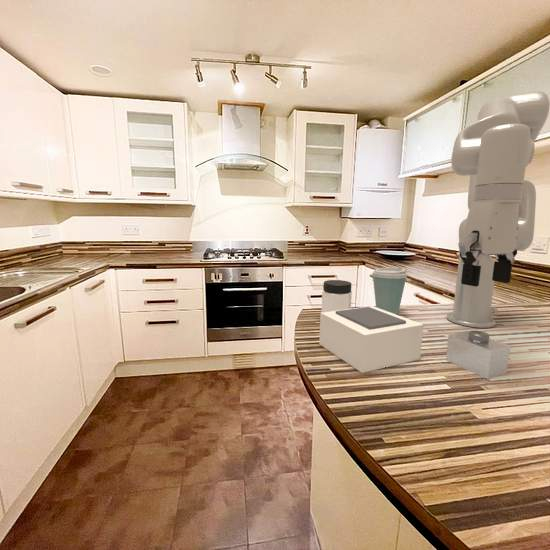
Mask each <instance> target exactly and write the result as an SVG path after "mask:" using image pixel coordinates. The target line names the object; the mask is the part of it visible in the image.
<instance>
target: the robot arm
mask: <svg viewBox="0 0 550 550" xmlns="http://www.w3.org/2000/svg"><path fill="white" fill-rule="evenodd" d="M549 113H550V98H549V96H548V94H547V93H546V92H543V91H540V90H536V91H534V90H533V91H528V92H522V93H515V94H508V95H503V96H497V97H495V98H492V99H490V100H488V101H487V102H485V104H483V105H482V106H481V108H480V110H479V112H478V115H477V121H476V122H474V123H471V124H469V125H467V126H466V127H464V128H463V129H462V130H461V131H460V132H459V133H458V134H457V136H456V137H455V139H454V142H453V143H454V144H453V146H452V147H453V148H452V152H451V153H452V154H451V161H450V163H451V169H452V171H453V172H454V173H455V174H456V175H458V176H469V185H468V193H467V195H468V196H467V207H468V213H467V217H466V218H465V219H463V220H462V221H461V222H460V224H459V227H458V245H457V246H458V253H459V254H458V263H457V264H458V265H457V273H456V274H457V275H456V281H455V290H454V291H455V292H454V301H453V309H452V311H451V312H448V313H447V314H446V320H448V321H449V322H452V323H455V324H457V325H461V326H464V327H471V328H482V329H486V328H487V329H488V328H493V327H495V326H496V320H495V319H494V318H493V317H491V315H492V314H497V313H498V308H497V307H496V306H492V301H493V296H494V290H495V289H494V288H495V282H499V283H503V284H509V283H510V282H511V278H512V270H513V264H514V263H515V260H516V259H515V257H516V256H517V254H518V252H519V251H520V252H521V251H524V250H527V249H529V248H530V246H532V243H533V240H534V237H535V236H534V235H535V222H536V205H537V203H536V202H537V189H536V187H535V185H534V183H533V182H532V181H529V180H525V175H526V169H527V167H528V166H529V165H530V164H531V163H532V161H533V158H534V155H535V141H536V140H537V138H538V136H539V134H540V132H541V130H543V127H544V125H545V124H546V121H547V119H548V117H549ZM492 256H494V257H495V259H496V261H495V259H494V258H493V257H492Z"/></svg>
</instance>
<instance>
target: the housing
mask: <svg viewBox="0 0 550 550" xmlns="http://www.w3.org/2000/svg"><path fill="white" fill-rule="evenodd" d="M510 352H511V345H509V344H507V343H504V342H500V341H499V340H494V339H492V338H490V334H489V333H487V332H485V331H481V330H469V331H468V330H466V331H465V330H464V331H461V332H455V333H451V334H448V338H447V348H446V354H445V355H446V356H445V361H447V362H449V363H452V364H454V365H456V366H459V367H460V368H462V369H465V370H467V371H469V372H471V373H474V374H476V375H478V376H479V377H482V378H484V379H486V380H490V379H492V378H495V377H498V376H502V375H506V374H507V373H508V366H509V359H510Z"/></svg>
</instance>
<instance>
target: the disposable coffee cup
mask: <svg viewBox="0 0 550 550" xmlns="http://www.w3.org/2000/svg"><path fill="white" fill-rule="evenodd" d="M406 271H407V269H405V268H403V267H402V268H401V267H381V268H376V269H374V271H372V279H373V280H372V281H373V290H374V292H373V293H374V300H375V307H377V308H379V309H382V310H385V311H388V312H390V313H393V314H396V315H398V314H399V313H400V307H401V303H402V298H403V294H404V290H405V284H406V280H407V277H408V272H406Z"/></svg>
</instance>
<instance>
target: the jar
mask: <svg viewBox="0 0 550 550" xmlns="http://www.w3.org/2000/svg"><path fill="white" fill-rule="evenodd" d="M322 286H323V287H322V288H323V289H322V291H321V292H322V293H321V313H323V312H330V311H338V310H345V309H352V295H353V292H352V291H353V290H352V286H353V285H352V282H351V281H348V280H341V279H329V280H324V282H323V285H322Z"/></svg>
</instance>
